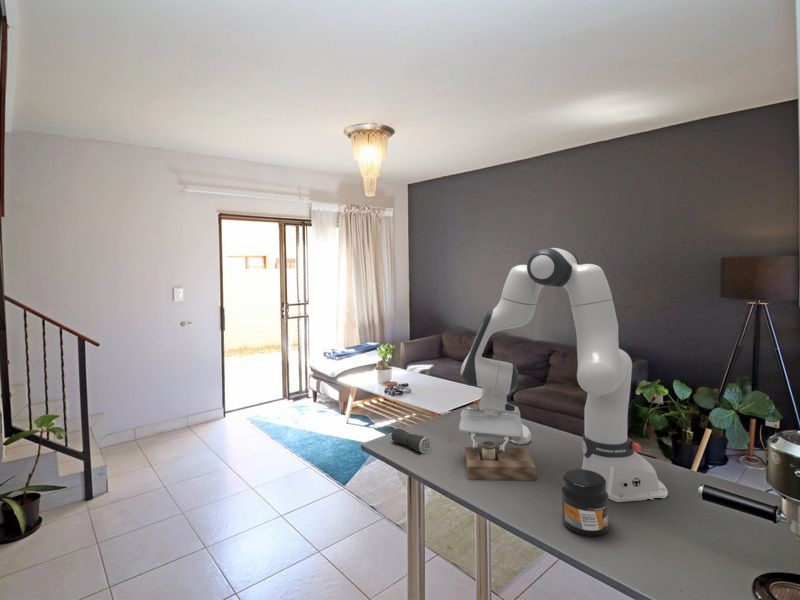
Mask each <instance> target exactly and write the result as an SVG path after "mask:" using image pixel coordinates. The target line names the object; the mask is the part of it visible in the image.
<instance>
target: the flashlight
mask: <svg viewBox="0 0 800 600" xmlns="http://www.w3.org/2000/svg"><path fill="white" fill-rule="evenodd" d="M391 440H392V441H393V443H395V444H398V445H403V446H407V447H409V448H411V449H413V450H414V451H416V452H419V453H421V454H426V453H429V451H430V449H431V446H432V445H431V444H432V442H431V439H430V438H429V437H426V436H424V435H419V434H416V433H414V434H413V433H409V432H408V431H405V430H404V429H402V428H399V427H398V428H394V429H393V430H392V433H391Z"/></svg>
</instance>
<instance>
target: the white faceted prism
mask: <svg viewBox="0 0 800 600" xmlns="http://www.w3.org/2000/svg"><path fill="white" fill-rule="evenodd" d="M522 427H523V439H522V440H521V441H515V440H509V442H511V443H513V444H515V445H524V444H528V443H529V442H530V441H531V440H532V434H531V431H530V430H529V428H528V427H527V426H526V425H524V424H523V423H522Z"/></svg>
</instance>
